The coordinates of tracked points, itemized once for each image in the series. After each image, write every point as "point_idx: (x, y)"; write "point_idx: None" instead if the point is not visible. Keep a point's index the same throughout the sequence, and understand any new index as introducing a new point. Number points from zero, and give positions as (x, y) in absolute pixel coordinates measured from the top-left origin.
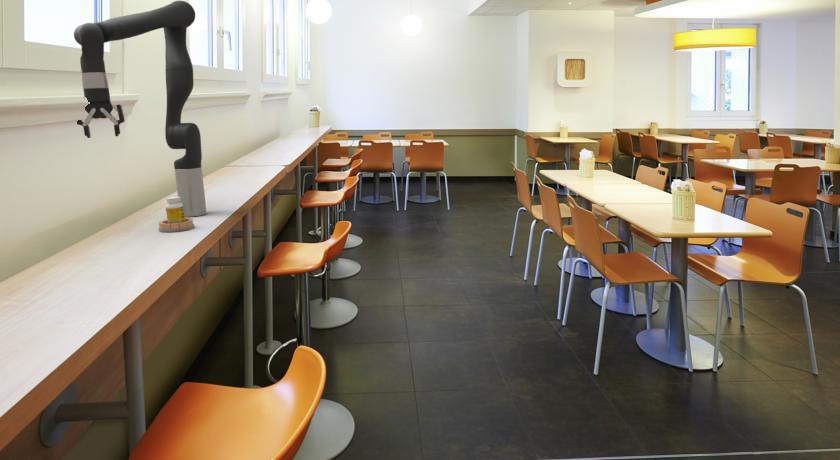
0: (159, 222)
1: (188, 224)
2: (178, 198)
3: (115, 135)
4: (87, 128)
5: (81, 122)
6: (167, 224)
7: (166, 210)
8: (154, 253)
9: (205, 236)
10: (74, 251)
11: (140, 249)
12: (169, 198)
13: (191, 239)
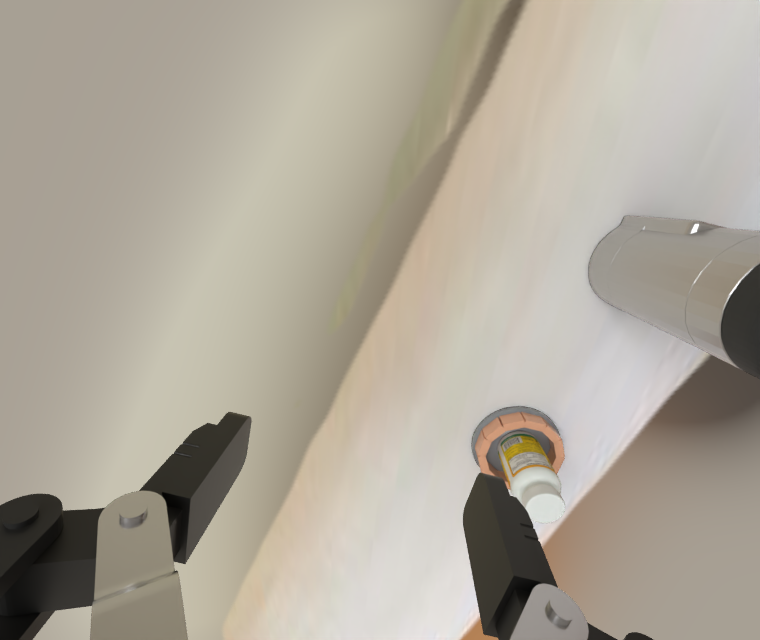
0: (481, 447)
1: None
2: (554, 519)
3: (465, 521)
4: (191, 541)
5: (67, 596)
6: None
7: (508, 482)
8: (419, 607)
9: None
10: (294, 515)
11: (404, 570)
12: (530, 516)
13: None
